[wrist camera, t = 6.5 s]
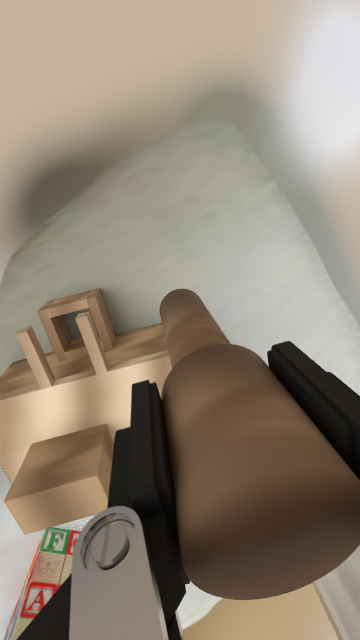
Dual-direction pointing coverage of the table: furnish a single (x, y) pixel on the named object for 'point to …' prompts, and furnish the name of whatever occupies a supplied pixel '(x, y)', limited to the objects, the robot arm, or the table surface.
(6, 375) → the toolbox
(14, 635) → the stack of blocks
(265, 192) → the table surface
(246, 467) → the wooden bottle
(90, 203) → the table surface
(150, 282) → the table surface
